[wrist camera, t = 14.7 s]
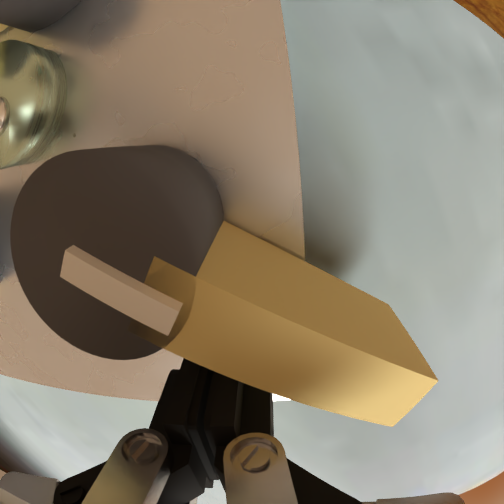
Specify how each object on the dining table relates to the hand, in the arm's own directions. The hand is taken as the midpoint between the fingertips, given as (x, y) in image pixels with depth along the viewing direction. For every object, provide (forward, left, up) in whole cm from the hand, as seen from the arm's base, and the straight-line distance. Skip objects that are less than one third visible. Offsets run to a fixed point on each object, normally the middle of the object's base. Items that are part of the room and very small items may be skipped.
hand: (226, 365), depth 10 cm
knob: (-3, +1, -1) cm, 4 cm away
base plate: (-8, -7, -3) cm, 11 cm away
